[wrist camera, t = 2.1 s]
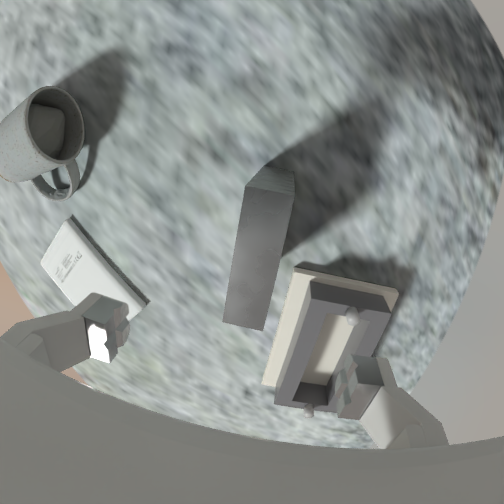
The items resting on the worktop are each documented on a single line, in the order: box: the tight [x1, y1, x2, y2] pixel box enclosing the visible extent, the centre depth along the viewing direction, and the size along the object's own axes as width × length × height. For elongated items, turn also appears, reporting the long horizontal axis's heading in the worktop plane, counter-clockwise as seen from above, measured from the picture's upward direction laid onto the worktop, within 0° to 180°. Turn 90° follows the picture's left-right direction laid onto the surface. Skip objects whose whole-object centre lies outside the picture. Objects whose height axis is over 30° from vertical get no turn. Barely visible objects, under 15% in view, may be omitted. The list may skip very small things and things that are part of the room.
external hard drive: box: [40, 218, 146, 321], centre depth 30 cm, size 2×8×12 cm
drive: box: [223, 166, 295, 331], centre depth 20 cm, size 8×2×10 cm, turn 170°
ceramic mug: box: [0, 86, 85, 201], centre depth 21 cm, size 11×8×8 cm
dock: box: [262, 267, 399, 418], centre depth 26 cm, size 14×10×5 cm
